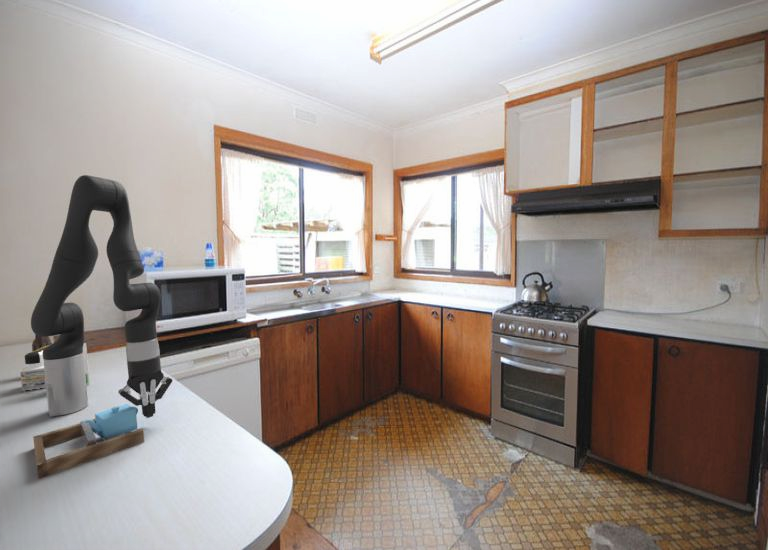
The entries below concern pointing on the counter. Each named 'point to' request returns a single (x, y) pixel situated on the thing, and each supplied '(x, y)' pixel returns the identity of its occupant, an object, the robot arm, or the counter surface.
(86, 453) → the bracket
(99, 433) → the teapot
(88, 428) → the stop plate
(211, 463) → the counter surface
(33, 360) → the container
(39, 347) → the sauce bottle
